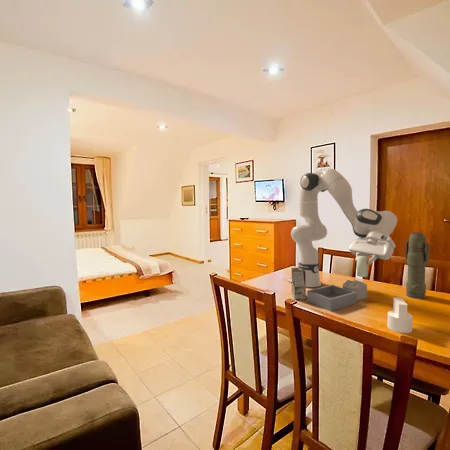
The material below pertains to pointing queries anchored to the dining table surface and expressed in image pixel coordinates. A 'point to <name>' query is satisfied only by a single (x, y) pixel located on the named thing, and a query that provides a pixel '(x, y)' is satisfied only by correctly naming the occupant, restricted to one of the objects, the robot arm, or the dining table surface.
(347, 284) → the lumpy-topped squat cylinder
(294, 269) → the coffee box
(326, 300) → the tote
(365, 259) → the tin
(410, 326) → the base with upright slab
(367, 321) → the dining table surface
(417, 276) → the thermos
